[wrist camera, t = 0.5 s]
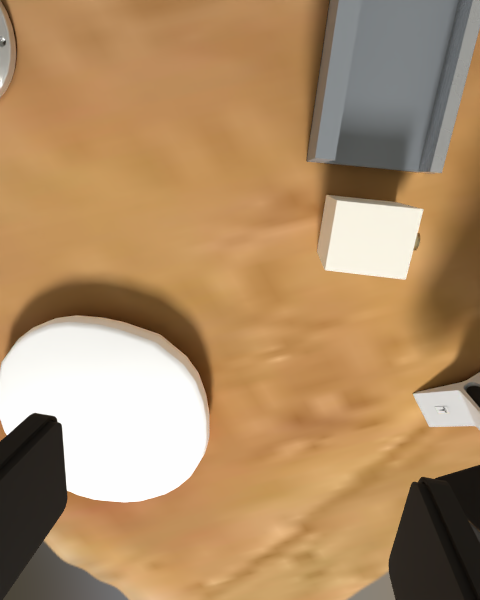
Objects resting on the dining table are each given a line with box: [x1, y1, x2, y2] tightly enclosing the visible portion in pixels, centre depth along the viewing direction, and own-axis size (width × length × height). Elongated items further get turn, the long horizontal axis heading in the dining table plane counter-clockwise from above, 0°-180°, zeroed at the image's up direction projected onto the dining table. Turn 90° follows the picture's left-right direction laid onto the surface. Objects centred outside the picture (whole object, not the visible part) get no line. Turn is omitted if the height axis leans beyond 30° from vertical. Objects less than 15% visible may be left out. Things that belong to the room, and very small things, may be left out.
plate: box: [0, 315, 209, 502], centre depth 47 cm, size 28×6×27 cm
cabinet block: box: [317, 195, 423, 280], centre depth 35 cm, size 8×6×8 cm
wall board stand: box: [307, 0, 480, 173], centre depth 29 cm, size 12×22×10 cm, turn 175°
